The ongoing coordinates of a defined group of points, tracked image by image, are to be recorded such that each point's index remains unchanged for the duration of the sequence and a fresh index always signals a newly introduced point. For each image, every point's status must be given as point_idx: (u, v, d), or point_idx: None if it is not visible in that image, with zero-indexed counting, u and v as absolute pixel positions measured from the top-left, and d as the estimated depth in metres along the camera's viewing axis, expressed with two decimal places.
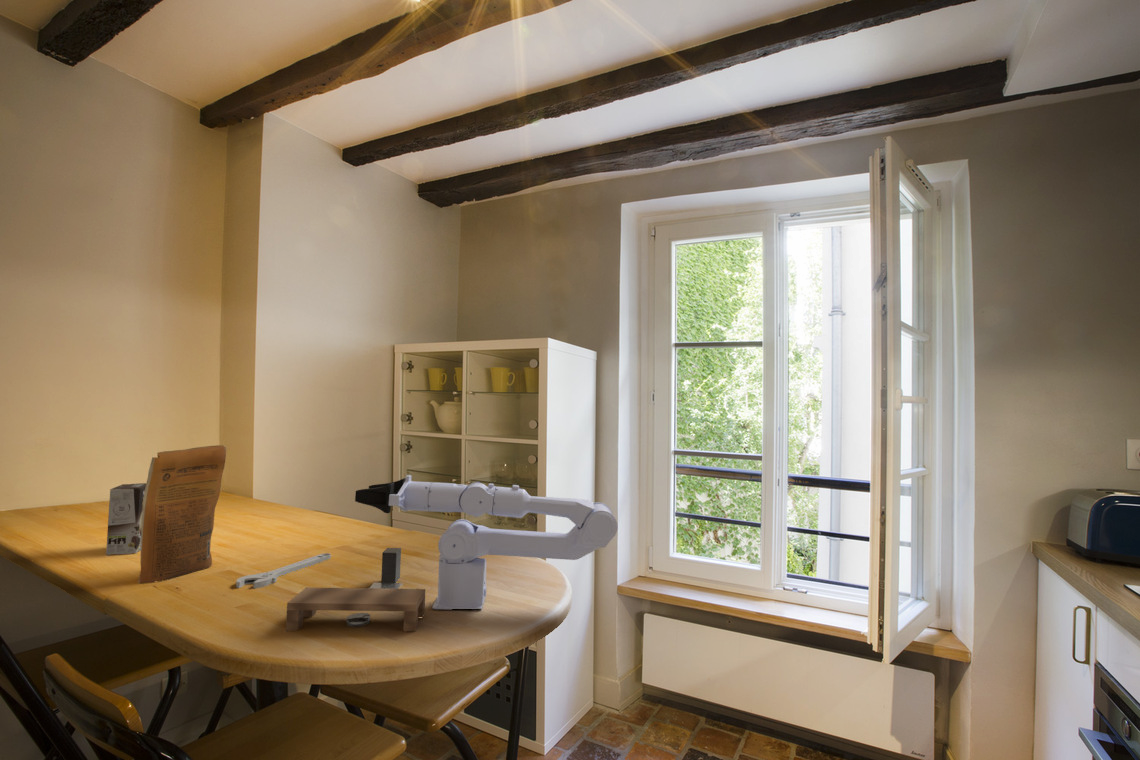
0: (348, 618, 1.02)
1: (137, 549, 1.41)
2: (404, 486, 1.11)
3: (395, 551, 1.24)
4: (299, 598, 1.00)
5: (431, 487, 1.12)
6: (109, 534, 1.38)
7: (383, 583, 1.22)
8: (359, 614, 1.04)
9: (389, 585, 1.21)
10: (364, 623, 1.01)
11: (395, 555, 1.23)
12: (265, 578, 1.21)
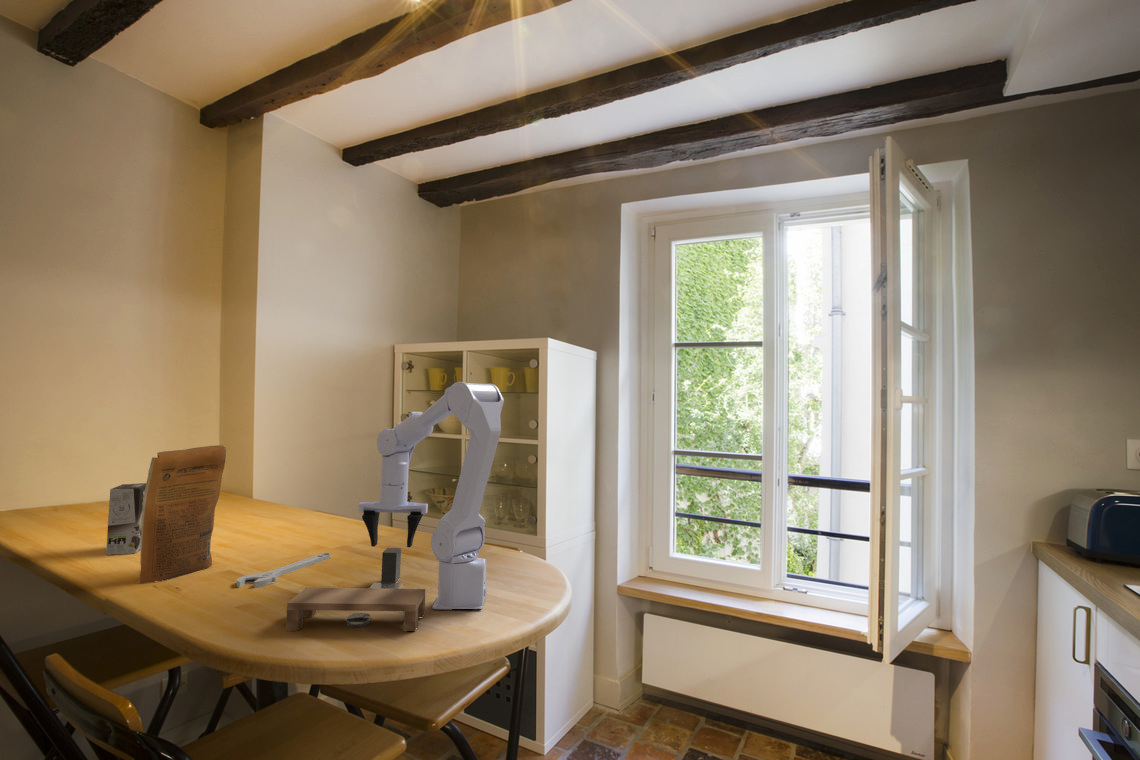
0: (348, 618, 1.02)
1: (137, 549, 1.41)
2: None
3: (395, 551, 1.24)
4: (299, 598, 1.00)
5: None
6: (109, 534, 1.38)
7: (383, 583, 1.22)
8: (359, 614, 1.04)
9: (389, 585, 1.21)
10: (364, 623, 1.01)
11: (395, 555, 1.23)
12: (265, 577, 1.21)
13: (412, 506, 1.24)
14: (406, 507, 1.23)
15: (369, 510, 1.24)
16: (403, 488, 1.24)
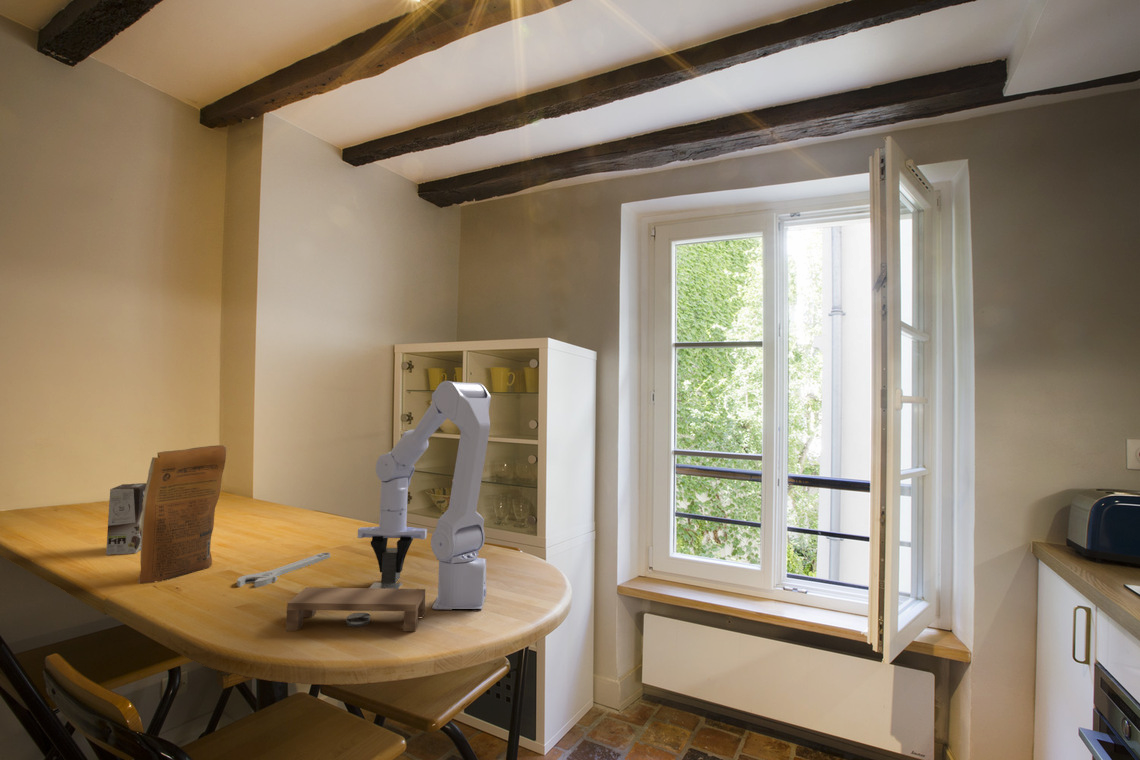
0: (348, 618, 1.02)
1: (137, 549, 1.41)
2: None
3: (395, 551, 1.24)
4: (299, 598, 1.00)
5: None
6: (109, 534, 1.38)
7: (383, 583, 1.22)
8: (359, 614, 1.04)
9: (389, 585, 1.21)
10: (364, 623, 1.01)
11: (395, 555, 1.23)
12: (266, 577, 1.22)
13: (411, 532, 1.23)
14: (405, 533, 1.23)
15: (368, 535, 1.24)
16: (402, 514, 1.23)
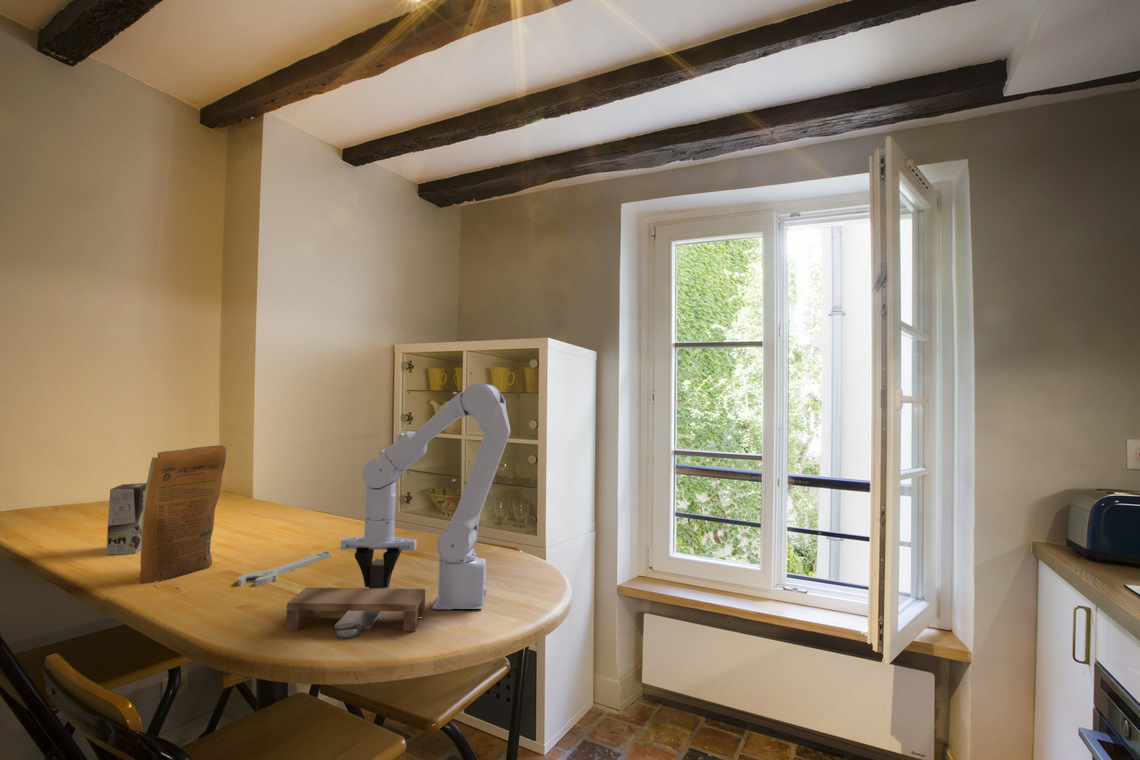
0: (338, 628, 0.97)
1: (137, 549, 1.41)
2: None
3: (383, 563, 1.15)
4: (299, 598, 1.00)
5: (366, 517, 1.13)
6: (109, 534, 1.38)
7: None
8: (350, 624, 0.98)
9: None
10: (353, 635, 0.96)
11: (383, 568, 1.13)
12: (266, 576, 1.22)
13: (399, 543, 1.13)
14: (392, 544, 1.12)
15: (352, 546, 1.14)
16: (389, 523, 1.13)
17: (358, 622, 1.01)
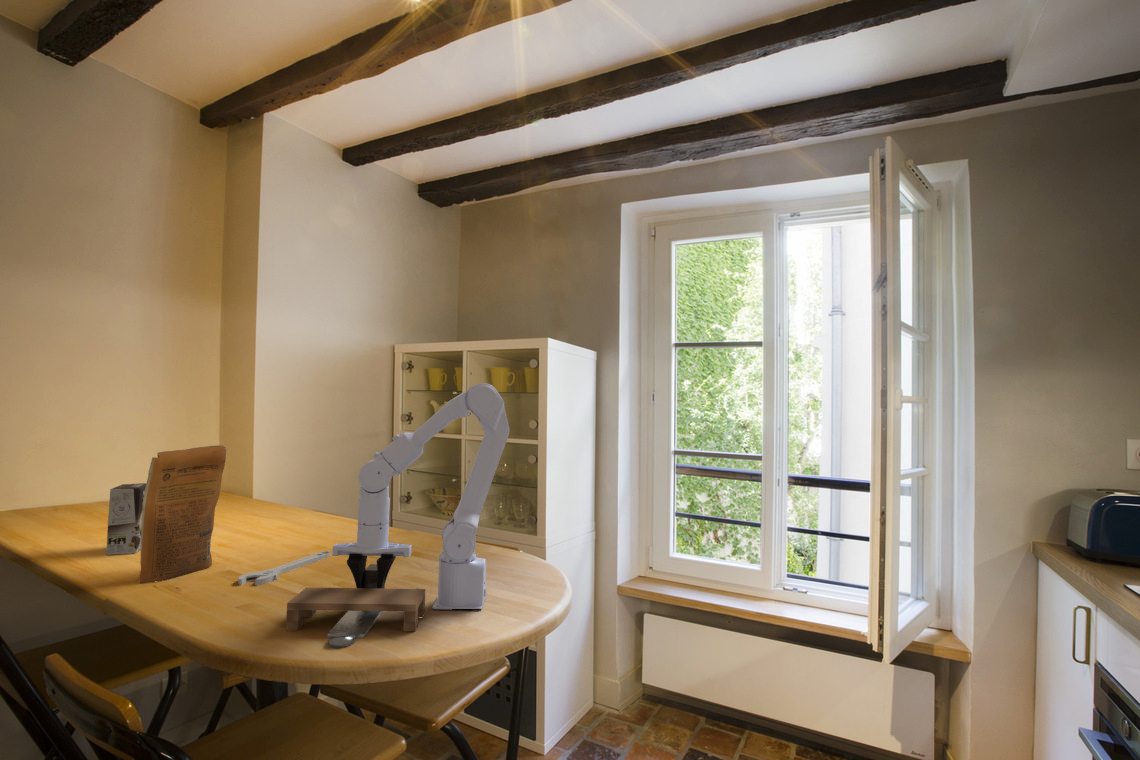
0: (330, 637, 0.93)
1: (137, 549, 1.41)
2: None
3: None
4: (299, 598, 1.00)
5: (360, 522, 1.08)
6: (109, 534, 1.38)
7: None
8: (344, 633, 0.95)
9: None
10: (346, 644, 0.92)
11: None
12: (267, 575, 1.23)
13: (393, 549, 1.08)
14: (386, 550, 1.08)
15: (344, 552, 1.09)
16: (383, 528, 1.08)
17: (352, 630, 0.97)
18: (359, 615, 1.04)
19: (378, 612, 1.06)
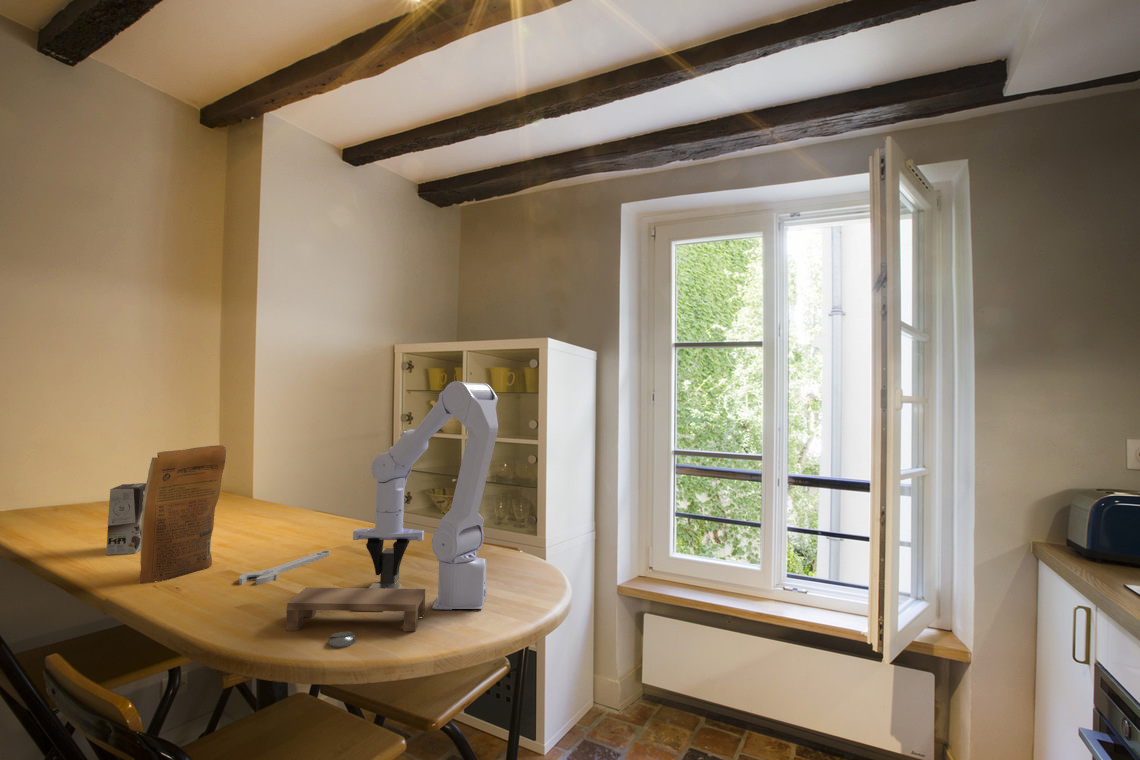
0: (330, 638, 0.93)
1: (137, 549, 1.41)
2: None
3: None
4: (299, 598, 1.00)
5: (376, 508, 1.21)
6: (109, 534, 1.38)
7: (382, 584, 1.21)
8: (344, 633, 0.95)
9: (388, 586, 1.20)
10: (347, 644, 0.92)
11: None
12: (267, 575, 1.23)
13: (408, 533, 1.20)
14: (402, 535, 1.20)
15: (363, 537, 1.21)
16: (398, 515, 1.20)
17: None
18: None
19: None
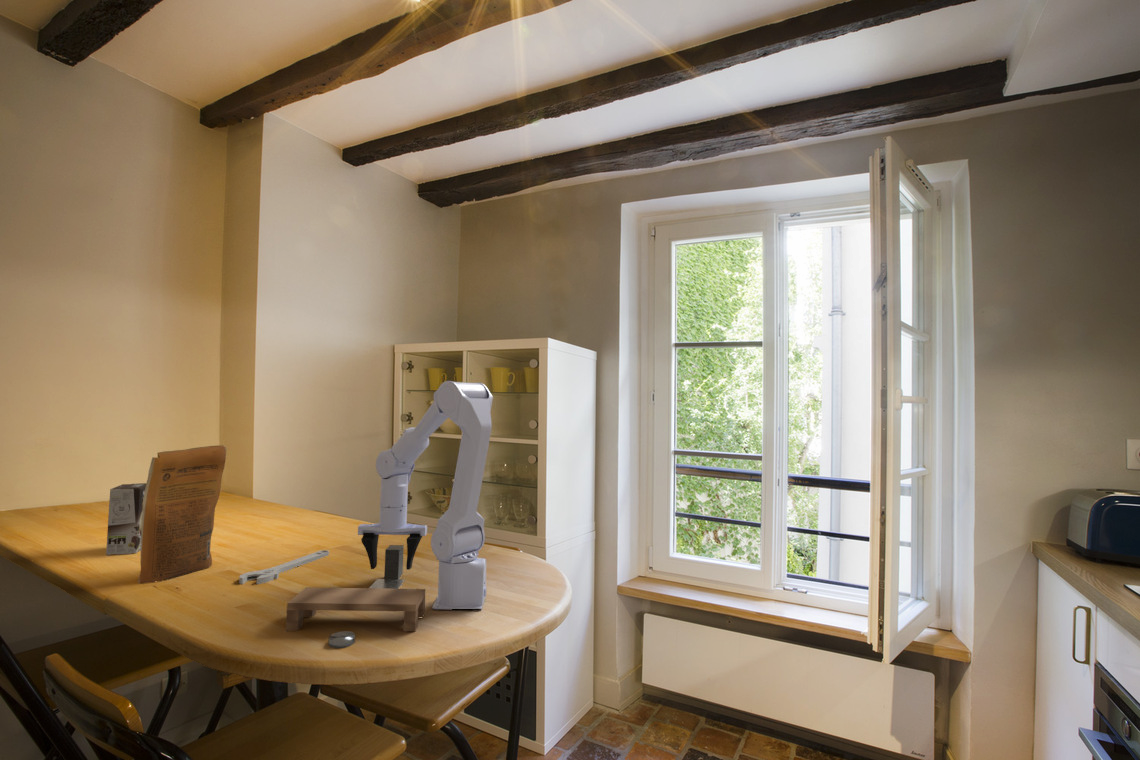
0: (331, 638, 0.93)
1: (137, 549, 1.41)
2: None
3: (398, 548, 1.26)
4: (299, 598, 1.00)
5: None
6: (109, 534, 1.38)
7: (386, 579, 1.24)
8: (342, 633, 0.95)
9: (392, 581, 1.23)
10: (349, 643, 0.93)
11: (398, 552, 1.25)
12: (267, 574, 1.24)
13: (411, 528, 1.23)
14: (405, 529, 1.23)
15: (368, 532, 1.24)
16: (402, 510, 1.23)
17: None
18: None
19: (398, 586, 1.20)
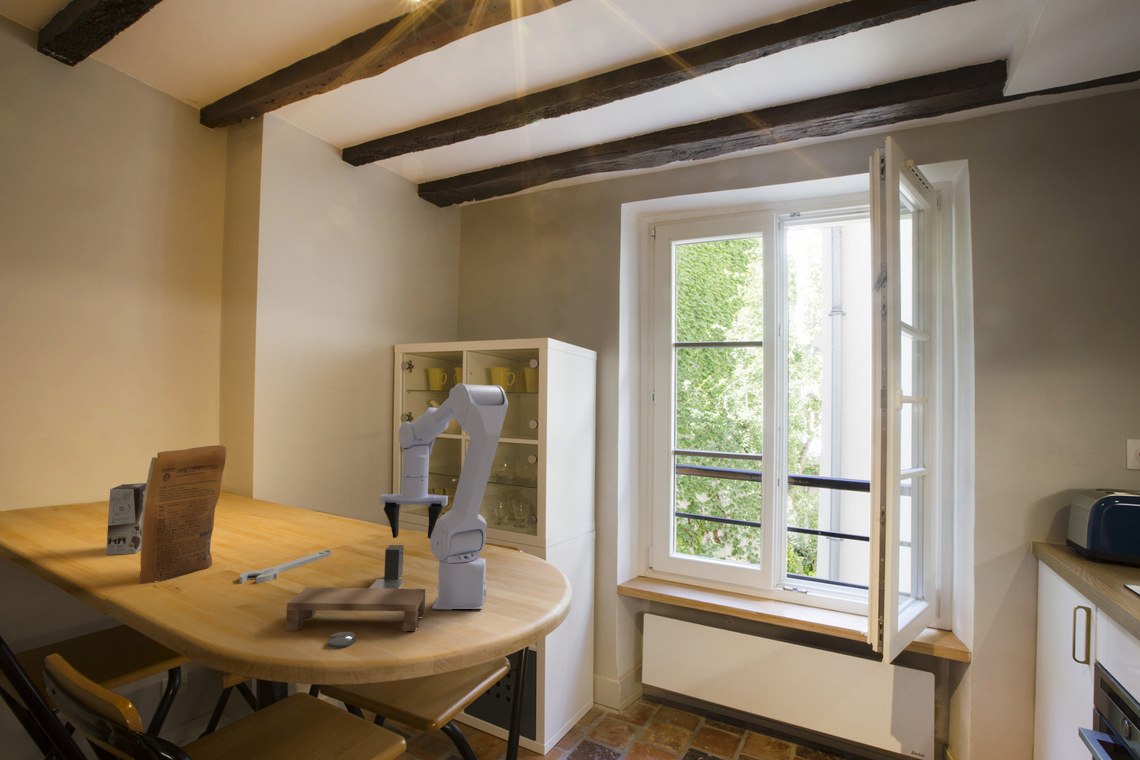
0: (332, 639, 0.93)
1: (137, 549, 1.41)
2: None
3: (398, 548, 1.26)
4: (299, 598, 1.00)
5: None
6: (109, 534, 1.38)
7: (386, 579, 1.24)
8: (339, 633, 0.95)
9: (392, 581, 1.23)
10: (352, 640, 0.93)
11: (398, 552, 1.25)
12: (267, 573, 1.24)
13: (433, 498, 1.26)
14: (427, 499, 1.25)
15: (390, 502, 1.26)
16: (424, 480, 1.26)
17: None
18: None
19: (398, 586, 1.20)
